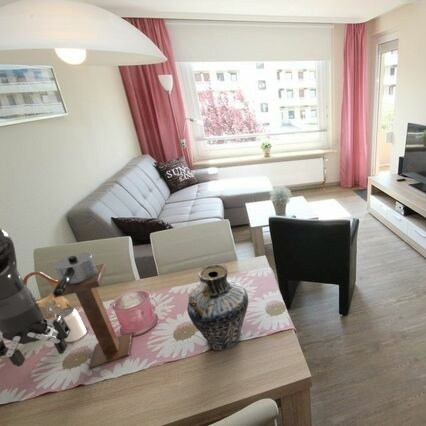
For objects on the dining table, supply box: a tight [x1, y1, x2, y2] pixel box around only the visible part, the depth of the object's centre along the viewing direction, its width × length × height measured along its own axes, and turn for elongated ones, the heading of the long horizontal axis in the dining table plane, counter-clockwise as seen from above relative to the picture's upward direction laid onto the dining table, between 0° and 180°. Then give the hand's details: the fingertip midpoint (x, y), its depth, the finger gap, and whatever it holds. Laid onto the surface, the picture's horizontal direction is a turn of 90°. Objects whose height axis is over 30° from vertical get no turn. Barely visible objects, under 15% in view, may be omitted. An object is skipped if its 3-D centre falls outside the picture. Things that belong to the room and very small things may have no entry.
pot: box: [53, 252, 98, 296], centre depth 85 cm, size 9×20×7 cm, turn 25°
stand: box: [51, 263, 133, 369], centre depth 97 cm, size 11×11×32 cm
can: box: [55, 306, 87, 343], centre depth 108 cm, size 6×6×12 cm
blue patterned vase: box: [187, 263, 249, 351], centre depth 100 cm, size 21×19×30 cm
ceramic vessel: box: [23, 271, 72, 328], centre depth 112 cm, size 16×9×25 cm, turn 153°
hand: (42, 357), depth 75 cm, fingers open, 8 cm apart
